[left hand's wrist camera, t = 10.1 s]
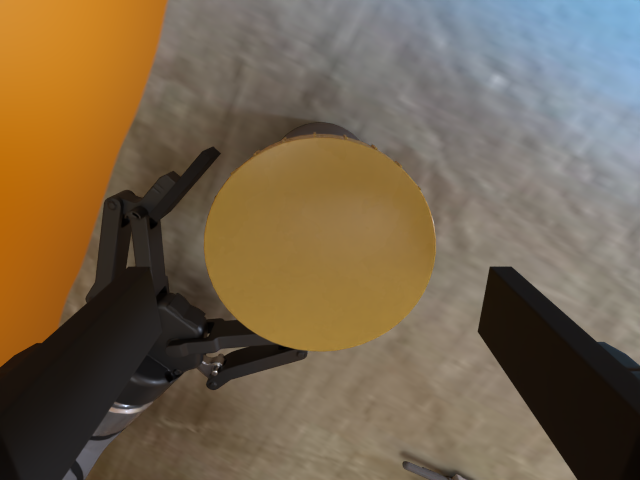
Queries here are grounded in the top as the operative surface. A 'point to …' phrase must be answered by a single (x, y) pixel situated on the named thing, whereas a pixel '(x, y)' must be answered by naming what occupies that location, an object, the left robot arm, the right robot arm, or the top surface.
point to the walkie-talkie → (428, 472)
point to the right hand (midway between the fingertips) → (281, 214)
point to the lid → (319, 243)
